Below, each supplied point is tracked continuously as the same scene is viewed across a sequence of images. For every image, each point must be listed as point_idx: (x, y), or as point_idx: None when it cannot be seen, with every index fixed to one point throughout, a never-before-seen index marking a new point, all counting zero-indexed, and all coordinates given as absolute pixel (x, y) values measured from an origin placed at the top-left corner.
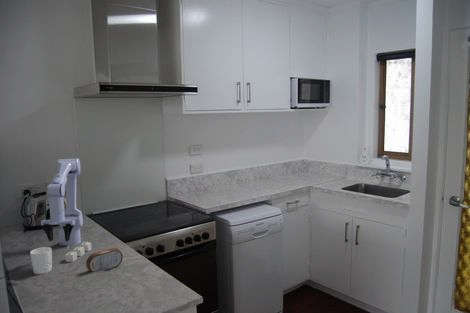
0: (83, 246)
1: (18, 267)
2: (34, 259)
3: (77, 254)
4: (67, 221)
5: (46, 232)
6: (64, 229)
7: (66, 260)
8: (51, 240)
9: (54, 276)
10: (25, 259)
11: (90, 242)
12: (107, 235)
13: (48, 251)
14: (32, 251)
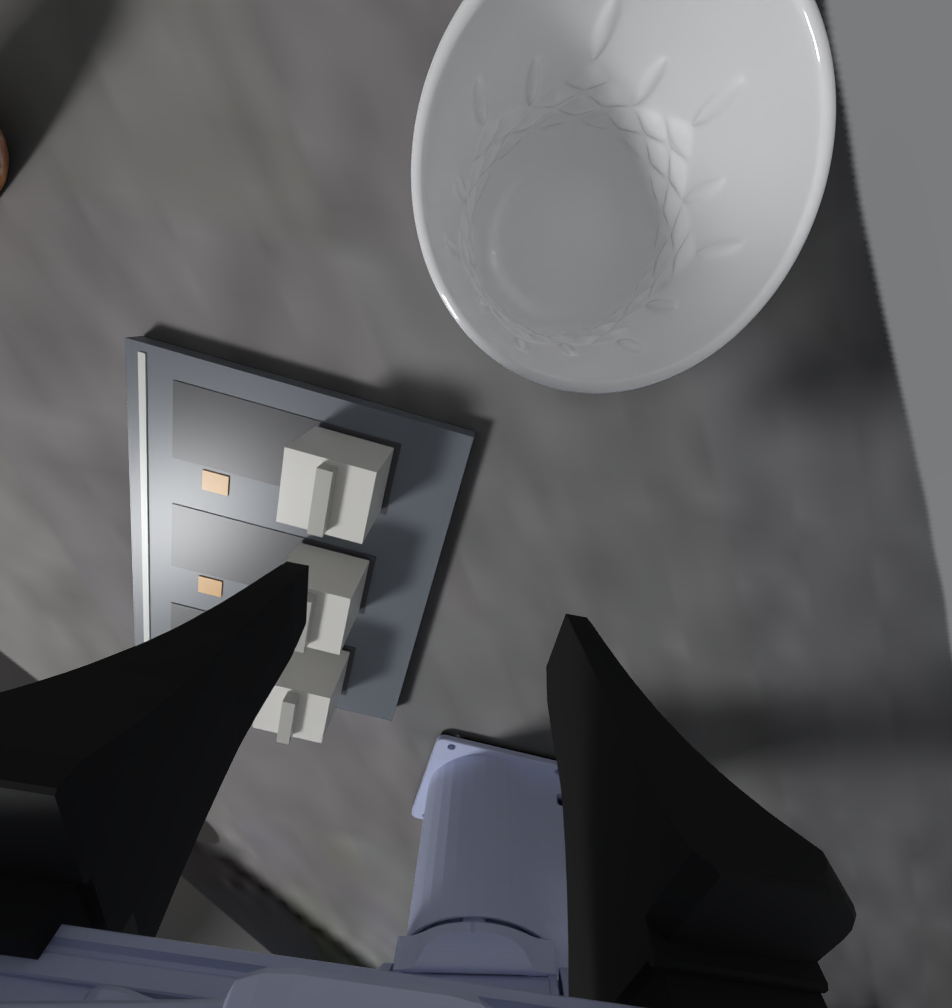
0: (309, 677)
1: (838, 445)
2: (675, 5)
3: (325, 559)
4: None
5: (665, 744)
6: (110, 711)
7: (383, 448)
8: (558, 640)
9: (395, 116)
10: (801, 607)
11: (259, 727)
12: (303, 880)
13: (428, 79)
14: (788, 219)
